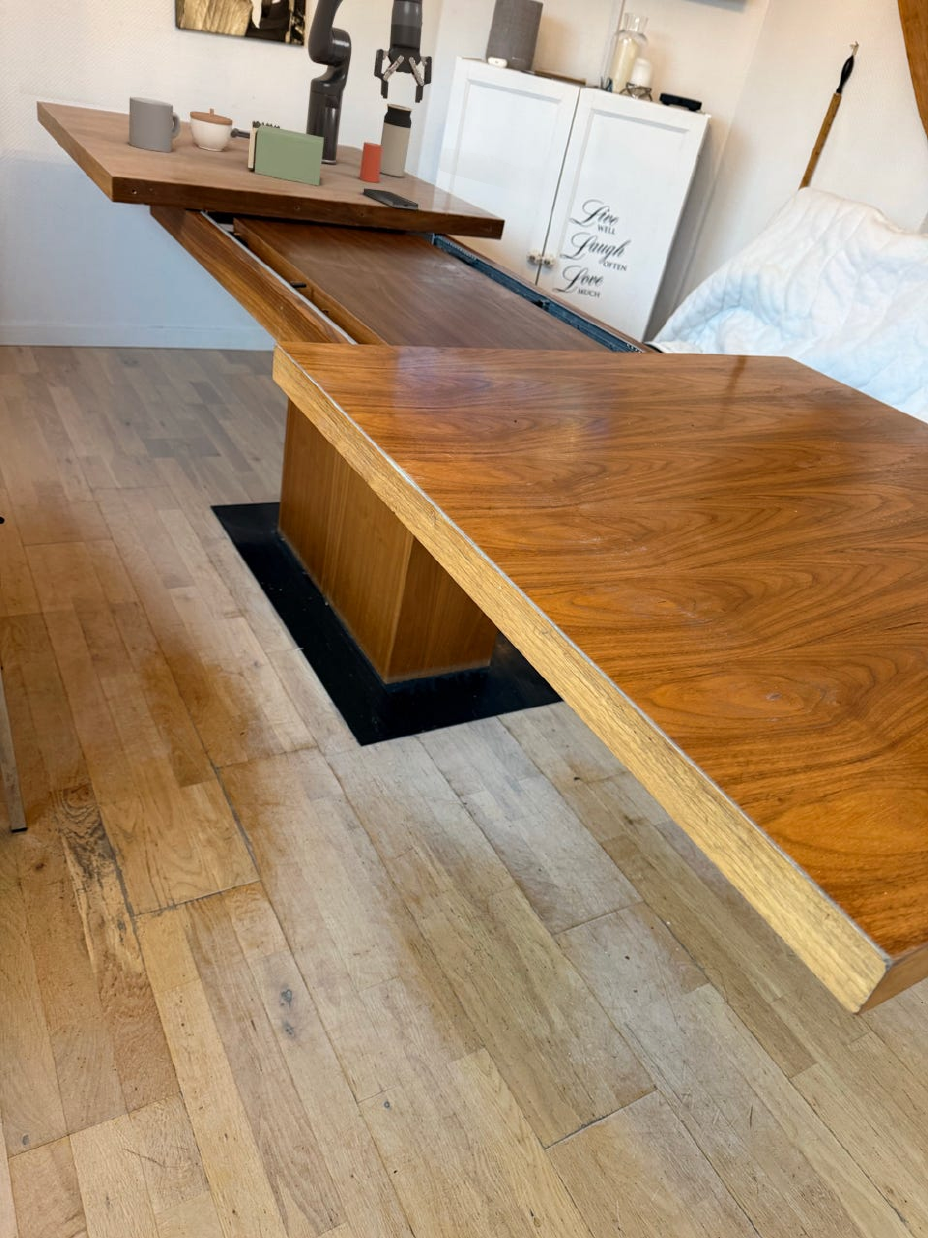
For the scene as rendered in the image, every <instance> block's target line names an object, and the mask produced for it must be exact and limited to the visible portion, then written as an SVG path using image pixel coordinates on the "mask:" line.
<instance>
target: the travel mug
mask: <svg viewBox="0 0 928 1238" xmlns="http://www.w3.org/2000/svg"><path fill="white" fill-rule="evenodd" d="M386 106H387V112H386V113H385V115H383V122H382V131H381V138H380V144H379V145H381V146H383V150H382V157H381V165H380V172H379V174H382V175H384V176H388V177H389V176H390V177H394V178H402V177H404V174H405V169H406V162H407V155H408V150H409V142H410V135H411V129H412V123H413V122H412V118H411V115H412V112H413V109H412V108H411V107H408V106H403V105H399V104H394V103H386Z"/></svg>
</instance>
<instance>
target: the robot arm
mask: <svg viewBox="0 0 928 1238" xmlns="http://www.w3.org/2000/svg"><path fill="white" fill-rule="evenodd" d="M343 2H344V0H318V1H317V5H316V8H315V11H314V15H313V19H312V22H311V26H310V30H309V34H308V40H307V53H308V57H309V59H310V60H311V62H313V63H315V64H317V65H323V66H327V67H326V71H325V72H324V73H323V74H322V75H320V76H317V77H313V78H312V79H311V81H310V85H309V96H308V105H307V106H308V107H307V115H306V116H307V120H306V126H305V127H306V128H305V134H309V135H314V136H318V137H323V138H324V140H323V151H322V161H321V164H326V165H327V164H329V165H335V164H336V163H337V153H338V145H339V135H340V126H341V116H342V108H343V107H342V106H343V100H344V99H343V98H344V92H345V90H346V86H347V84H348V78H349V70H350V64H351V58H352V50H353V49H352V39H351V35H350V34H349V32H348V31H346V30H345V29H343V28H339V27H334V21H335V19H336V14H337V12H338V10H339V8H340V6H341V4H342V3H343ZM423 2H424V0H393V2H392V7H391V18H390V21H391V22H390V33H389V34H390V35H389V48H388V50H384V49H383V48H378V49H376V51H375V52H376V53H375V60H374V69H373V76H374V77H375V78H377V79H379V81H380V95H381V97H382V99H385V100H388V99H389V98H388V97H389V79H390V78H391V76H392V75H393V74H394V73H395V72H396V73H404V74H407V75H408V74H411V76H412V78H413V79H414V82H415V83H416V86H415V95H414V96H415V97H414V102H415V103H416V104H421V101H423V98H424V87H425V86H426V85H431V83H432V75H433V72H432V70H433V57H432V56H430V55H427V56H426V55H425V56H422V55H421V45H422V43H421V41H422V32H423V31H422V29H423V24H424V23H423ZM386 57H387V59H388V61H389V64H388V66H387V67H386V68H385V71H383V72H382V70H383V61H384V60H386ZM420 63H421V65H422V67H423V76H422V75H421V72H420V69H419V68H418V66H419V64H420Z"/></svg>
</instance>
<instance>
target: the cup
mask: <svg viewBox="0 0 928 1238" xmlns="http://www.w3.org/2000/svg"><path fill="white" fill-rule="evenodd" d="M251 124H252V129H253V128H258V129H259V127H260V125H265V126H270V127H275V128H280V129H281V126H280V125H276V124H275V125H274V126H273V123H269V122H267V123H265V122H264V121H262V122H260V121H259V120H256V121H255V120H253V121H252V122H251Z"/></svg>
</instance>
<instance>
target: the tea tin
mask: <svg viewBox="0 0 928 1238" xmlns="http://www.w3.org/2000/svg"><path fill="white" fill-rule="evenodd" d="M382 150H383V146H381V145H380V144H378V143H373V142H368V141H364V142H363V147H362V155H361V162H360V168H359V169H360V171H359V180H362V181H364V182H368V183H375V184H376V183H377V184H378V183H379V179H380V173H379V172H380V165H381V157H382Z"/></svg>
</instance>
